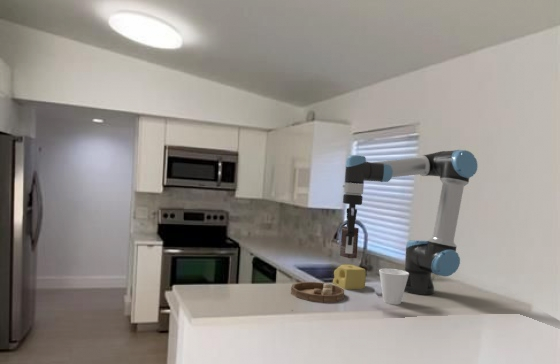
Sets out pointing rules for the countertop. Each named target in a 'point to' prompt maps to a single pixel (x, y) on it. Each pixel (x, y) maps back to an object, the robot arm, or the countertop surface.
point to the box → (343, 243)
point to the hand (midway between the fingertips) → (348, 251)
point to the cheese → (349, 277)
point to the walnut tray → (309, 292)
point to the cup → (393, 285)
